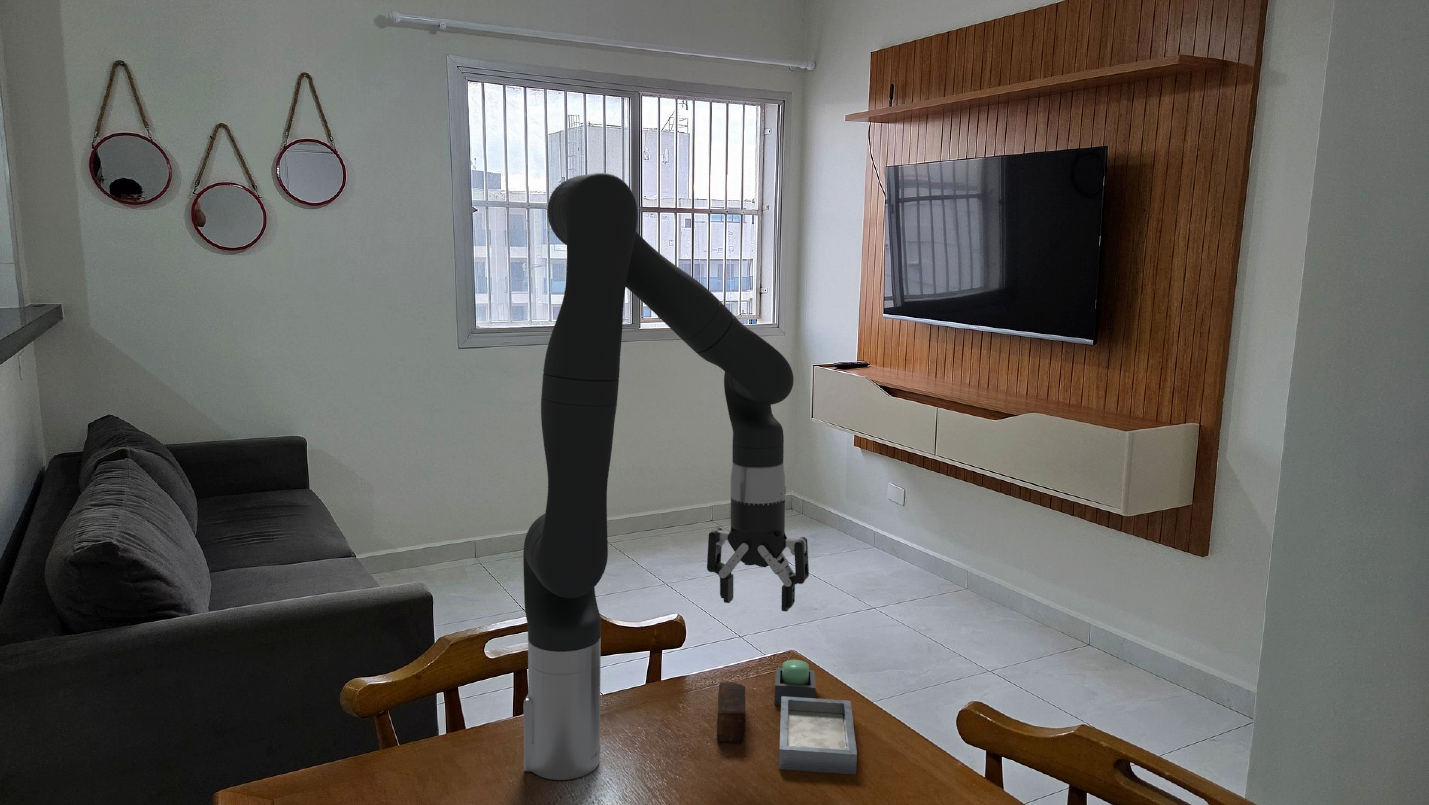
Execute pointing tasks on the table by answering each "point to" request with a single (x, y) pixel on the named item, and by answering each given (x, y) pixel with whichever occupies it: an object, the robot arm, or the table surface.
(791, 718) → the tray
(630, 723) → the table surface
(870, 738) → the table surface
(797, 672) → the button
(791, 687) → the button box
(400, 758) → the table surface
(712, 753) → the table surface
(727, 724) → the brick
